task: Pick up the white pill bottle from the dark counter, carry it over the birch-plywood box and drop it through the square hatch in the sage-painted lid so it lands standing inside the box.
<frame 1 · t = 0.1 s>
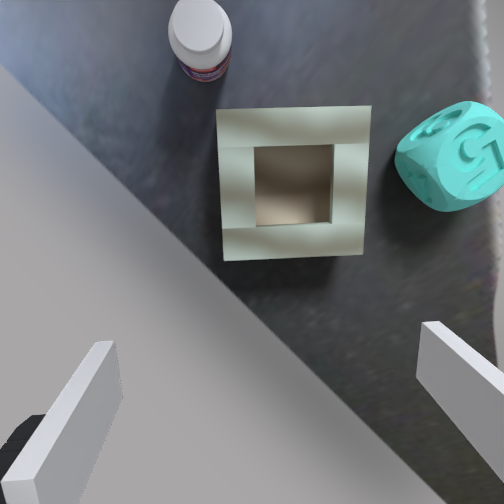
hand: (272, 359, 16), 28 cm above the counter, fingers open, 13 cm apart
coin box: (283, 180, 41), on the counter
pill bottle: (204, 54, 37), on the counter
engraved teal number block: (429, 157, 42), on the counter
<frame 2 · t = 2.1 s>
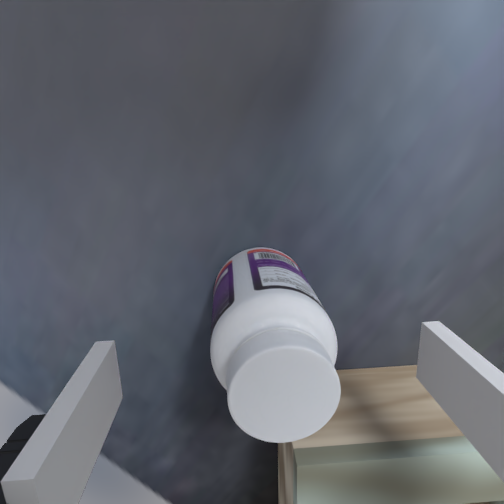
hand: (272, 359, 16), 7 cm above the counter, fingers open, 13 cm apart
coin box: (375, 452, 26), on the counter
pill bottle: (259, 287, 22), on the counter
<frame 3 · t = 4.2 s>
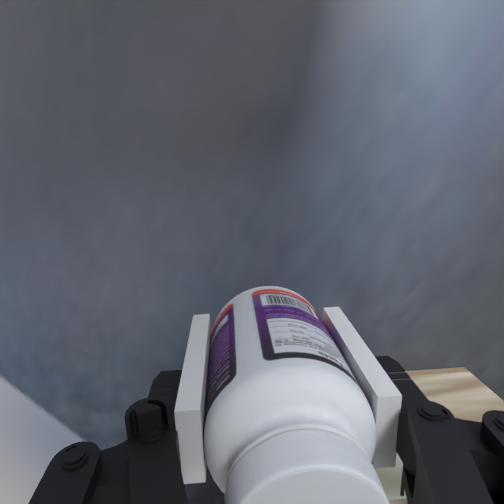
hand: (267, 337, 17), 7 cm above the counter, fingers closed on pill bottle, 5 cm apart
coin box: (365, 455, 28), on the counter
pill bottle: (266, 332, 18), point 6 cm above the counter, touching gripper
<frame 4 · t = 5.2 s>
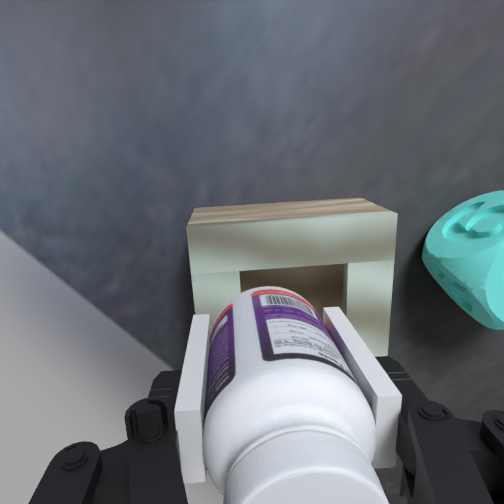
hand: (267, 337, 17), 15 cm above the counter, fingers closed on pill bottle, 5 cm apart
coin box: (280, 280, 33), on the counter
pill bottle: (266, 333, 18), point 14 cm above the counter, touching gripper
engraved teal number block: (464, 245, 33), on the counter
when the fingers open (8 cm above the counter, at t = 6.6 s): pill bottle drops 7 cm, resting on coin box.
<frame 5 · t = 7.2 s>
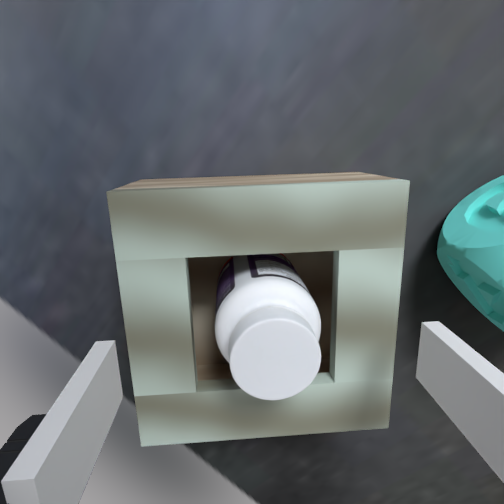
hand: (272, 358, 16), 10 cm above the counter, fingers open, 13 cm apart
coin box: (254, 278, 25), on the counter
pill bottle: (256, 280, 25), resting on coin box
engraved teal number block: (490, 238, 26), on the counter
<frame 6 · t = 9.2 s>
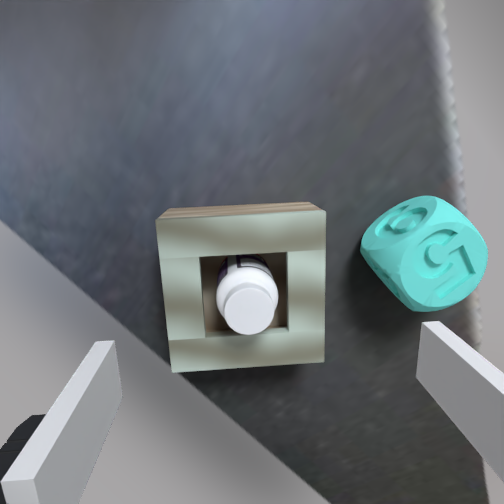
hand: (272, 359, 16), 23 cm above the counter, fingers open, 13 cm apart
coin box: (242, 271, 39), on the counter
pill bottle: (243, 273, 38), resting on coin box
engraved teal number block: (399, 243, 39), on the counter
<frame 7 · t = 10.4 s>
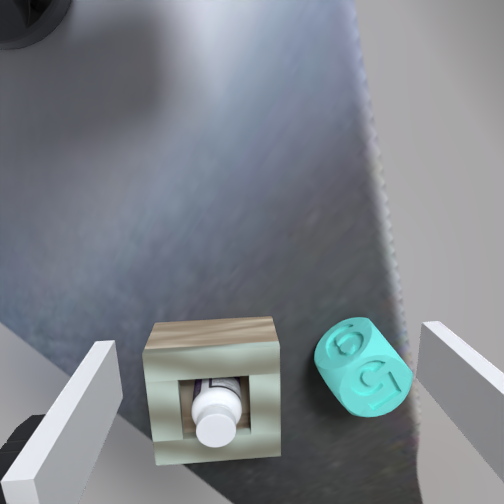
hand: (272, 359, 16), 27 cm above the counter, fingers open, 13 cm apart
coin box: (217, 370, 46), on the counter
pill bottle: (218, 372, 46), resting on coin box
engraved teal number block: (349, 346, 47), on the counter
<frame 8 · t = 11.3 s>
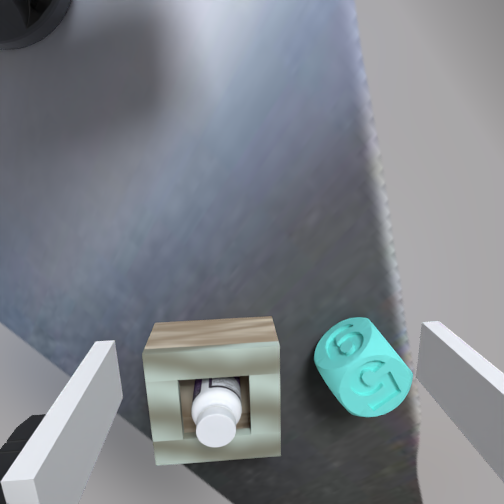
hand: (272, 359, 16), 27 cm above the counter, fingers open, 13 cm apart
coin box: (217, 370, 46), on the counter
pill bottle: (218, 372, 46), resting on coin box
engraved teal number block: (349, 346, 47), on the counter
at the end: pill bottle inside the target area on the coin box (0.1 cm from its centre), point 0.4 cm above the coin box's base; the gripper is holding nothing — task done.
